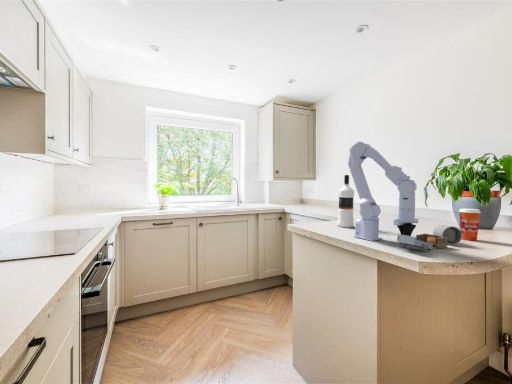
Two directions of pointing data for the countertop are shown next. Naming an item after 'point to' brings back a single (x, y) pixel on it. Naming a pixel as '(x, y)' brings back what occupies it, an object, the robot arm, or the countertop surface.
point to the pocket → (439, 240)
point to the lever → (413, 241)
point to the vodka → (346, 205)
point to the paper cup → (469, 223)
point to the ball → (431, 240)
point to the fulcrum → (416, 247)
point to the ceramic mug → (449, 233)
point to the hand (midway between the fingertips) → (405, 241)
